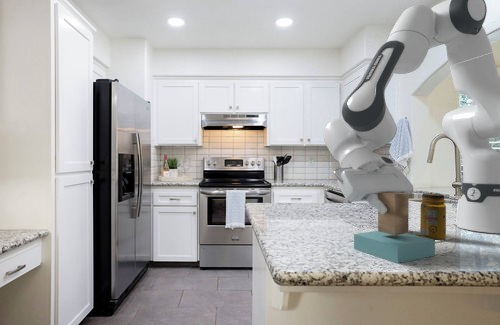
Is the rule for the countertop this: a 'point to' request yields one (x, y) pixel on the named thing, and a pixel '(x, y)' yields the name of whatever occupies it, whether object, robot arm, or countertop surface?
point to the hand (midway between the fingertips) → (395, 211)
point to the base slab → (394, 246)
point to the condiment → (433, 217)
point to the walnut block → (394, 213)
